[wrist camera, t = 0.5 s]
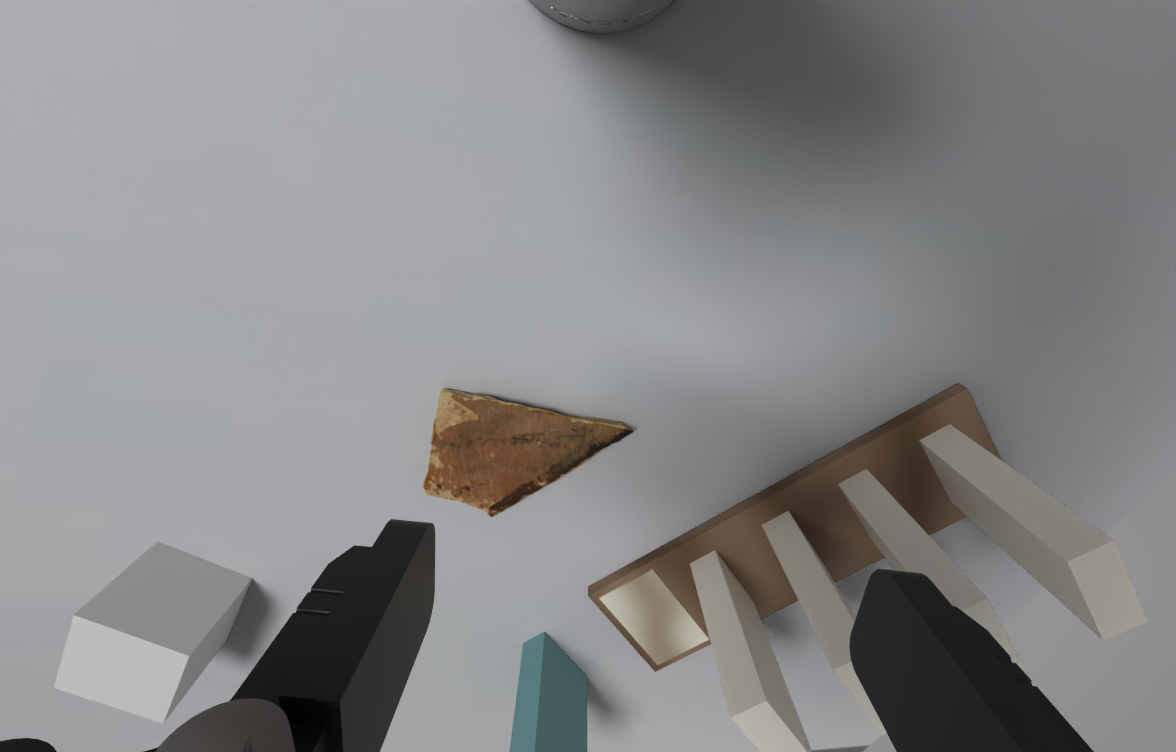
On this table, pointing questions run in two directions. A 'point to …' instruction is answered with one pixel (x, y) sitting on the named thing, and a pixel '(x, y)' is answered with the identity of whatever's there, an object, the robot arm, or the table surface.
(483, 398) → the shard
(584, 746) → the teal domino
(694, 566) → the domino
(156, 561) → the white cube
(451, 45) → the table surface
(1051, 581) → the domino
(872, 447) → the board
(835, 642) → the domino
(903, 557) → the domino
